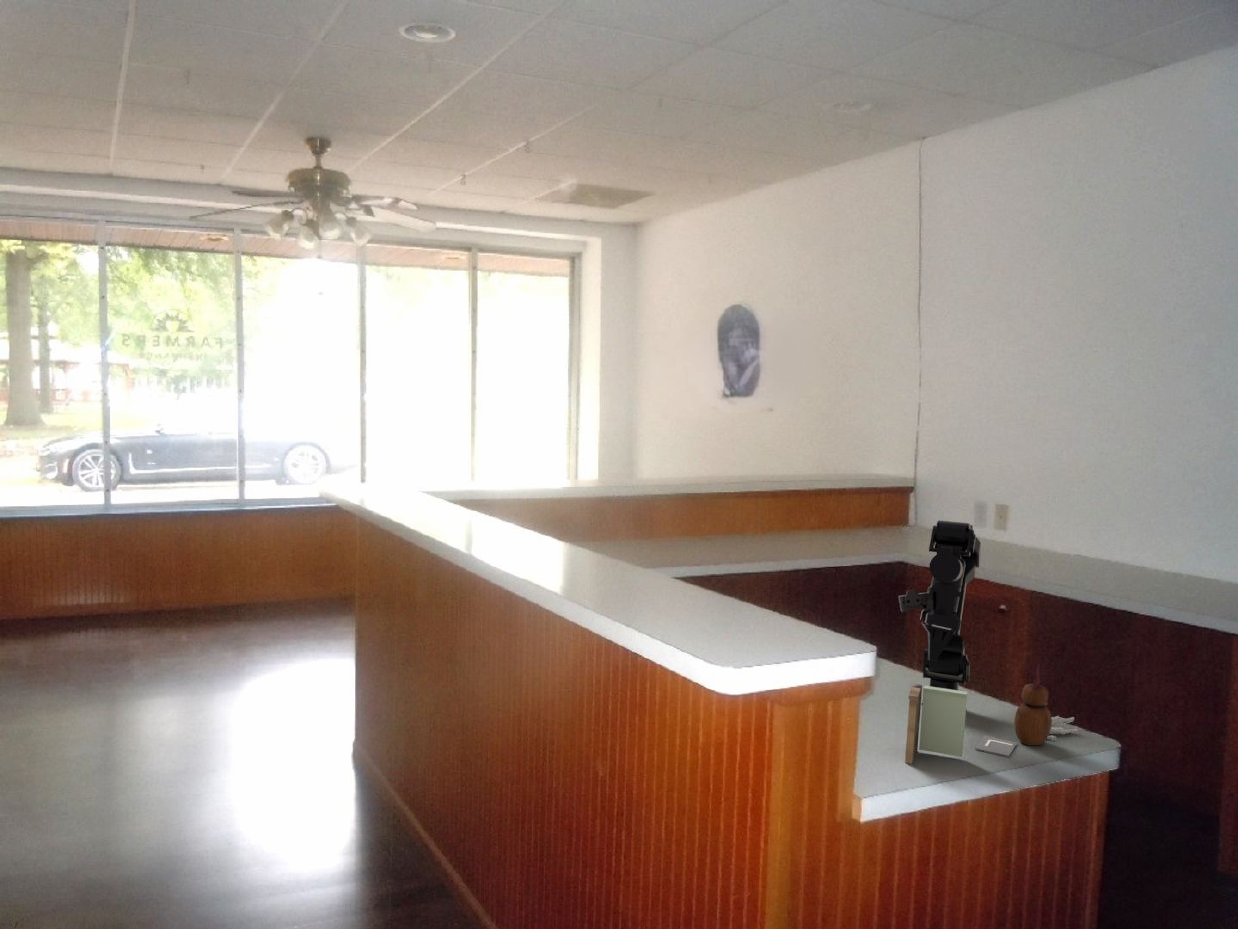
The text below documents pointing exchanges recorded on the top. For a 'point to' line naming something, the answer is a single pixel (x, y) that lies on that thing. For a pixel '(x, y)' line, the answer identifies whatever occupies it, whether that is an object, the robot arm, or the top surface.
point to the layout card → (996, 746)
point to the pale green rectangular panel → (943, 721)
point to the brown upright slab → (913, 722)
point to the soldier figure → (1059, 729)
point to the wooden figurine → (1033, 714)
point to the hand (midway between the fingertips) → (931, 661)
